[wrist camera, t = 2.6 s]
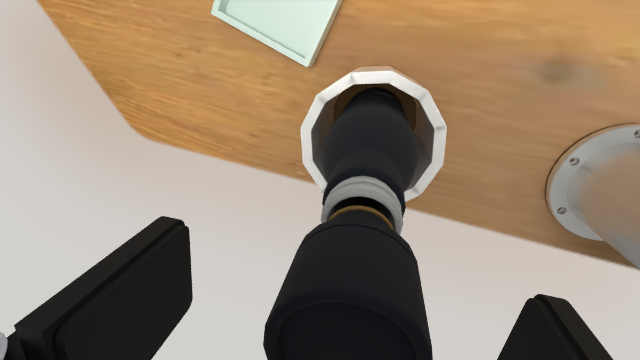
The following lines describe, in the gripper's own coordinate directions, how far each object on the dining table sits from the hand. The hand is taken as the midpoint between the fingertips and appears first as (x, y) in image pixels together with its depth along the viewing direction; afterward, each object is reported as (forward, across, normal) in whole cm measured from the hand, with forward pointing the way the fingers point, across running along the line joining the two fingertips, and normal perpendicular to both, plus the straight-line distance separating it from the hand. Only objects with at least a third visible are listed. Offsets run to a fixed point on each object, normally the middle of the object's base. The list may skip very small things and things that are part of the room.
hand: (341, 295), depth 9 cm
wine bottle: (+28, -1, 0) cm, 28 cm away
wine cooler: (+28, -1, 0) cm, 28 cm away
